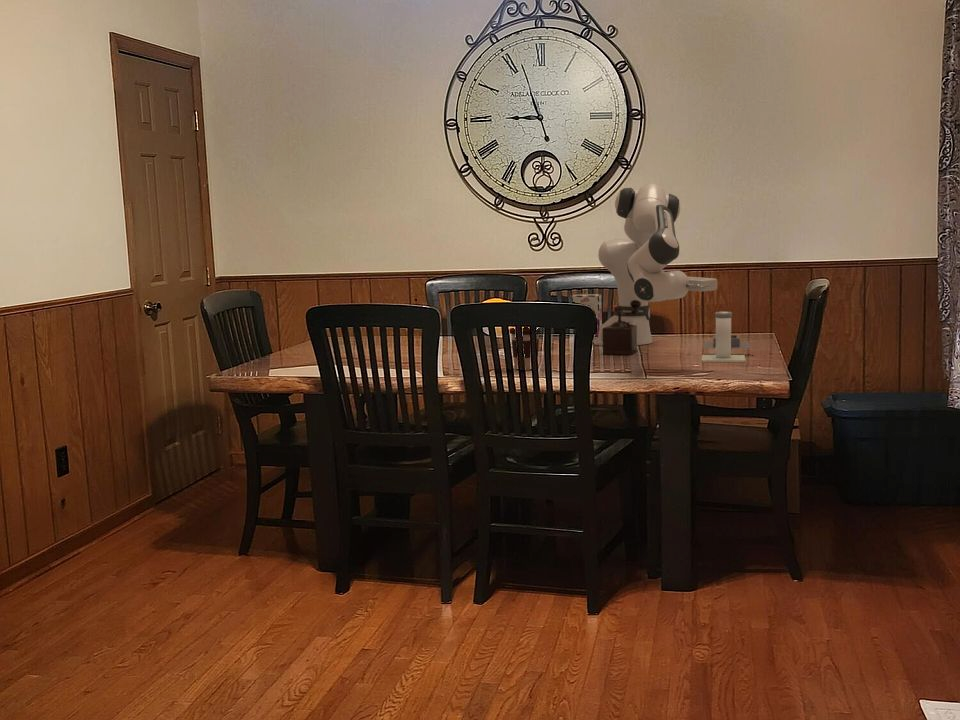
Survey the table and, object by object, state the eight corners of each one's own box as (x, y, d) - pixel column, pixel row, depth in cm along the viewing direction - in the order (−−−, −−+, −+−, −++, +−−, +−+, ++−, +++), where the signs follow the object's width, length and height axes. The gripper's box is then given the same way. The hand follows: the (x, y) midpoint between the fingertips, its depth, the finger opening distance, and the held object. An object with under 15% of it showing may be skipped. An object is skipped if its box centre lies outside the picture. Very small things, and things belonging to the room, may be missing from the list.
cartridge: (713, 357, 350) (713, 313, 347) (717, 355, 355) (717, 311, 352) (729, 358, 347) (729, 313, 345) (733, 356, 352) (733, 311, 350)
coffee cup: (509, 367, 348) (508, 322, 345) (539, 365, 348) (538, 321, 346) (512, 372, 338) (511, 325, 336) (542, 370, 339) (541, 324, 336)
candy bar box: (602, 334, 418) (602, 294, 416) (599, 336, 414) (599, 295, 411) (575, 334, 422) (574, 293, 419) (572, 336, 417) (571, 295, 415)
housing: (703, 351, 369) (703, 339, 368) (704, 344, 384) (704, 333, 384) (750, 351, 365) (750, 339, 365) (749, 344, 381) (749, 333, 380)
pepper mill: (632, 355, 364) (632, 304, 361) (602, 354, 368) (601, 303, 365) (642, 348, 378) (642, 299, 376) (613, 348, 383) (612, 299, 380)
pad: (701, 362, 346) (701, 360, 346) (702, 355, 359) (702, 353, 359) (745, 362, 343) (745, 360, 343) (744, 355, 356) (744, 353, 356)
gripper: (702, 276, 322) (728, 273, 331) (649, 273, 337) (676, 269, 346) (702, 297, 323) (728, 292, 332) (649, 292, 338) (676, 288, 347)
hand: (701, 281), depth 339 cm, fingers open, 8 cm apart
